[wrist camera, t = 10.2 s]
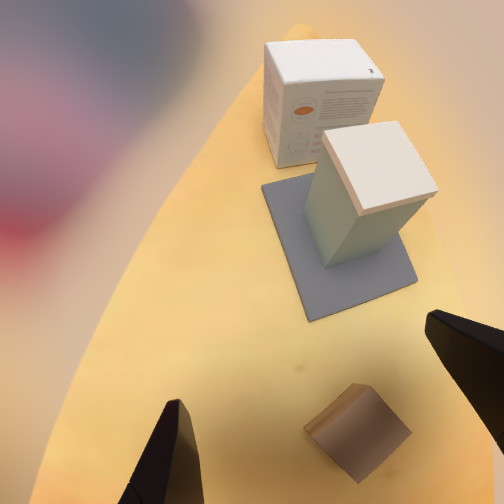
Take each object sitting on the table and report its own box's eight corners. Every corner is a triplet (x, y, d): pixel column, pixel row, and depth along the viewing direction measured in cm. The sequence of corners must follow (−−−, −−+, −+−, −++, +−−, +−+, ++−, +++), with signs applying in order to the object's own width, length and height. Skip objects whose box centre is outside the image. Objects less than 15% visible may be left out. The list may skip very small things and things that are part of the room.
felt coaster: (415, 282, 25) (418, 280, 24) (308, 322, 24) (309, 321, 23) (361, 165, 29) (362, 162, 28) (261, 188, 28) (261, 185, 27)
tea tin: (380, 252, 25) (439, 190, 15) (323, 270, 24) (363, 209, 15) (356, 198, 27) (397, 120, 17) (301, 212, 26) (323, 130, 17)
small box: (335, 118, 31) (356, 37, 21) (355, 159, 29) (388, 78, 19) (261, 126, 30) (263, 40, 20) (275, 170, 28) (283, 82, 18)
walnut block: (389, 424, 21) (411, 432, 17) (342, 467, 20) (358, 483, 16) (352, 383, 22) (370, 386, 18) (303, 427, 21) (312, 438, 17)
